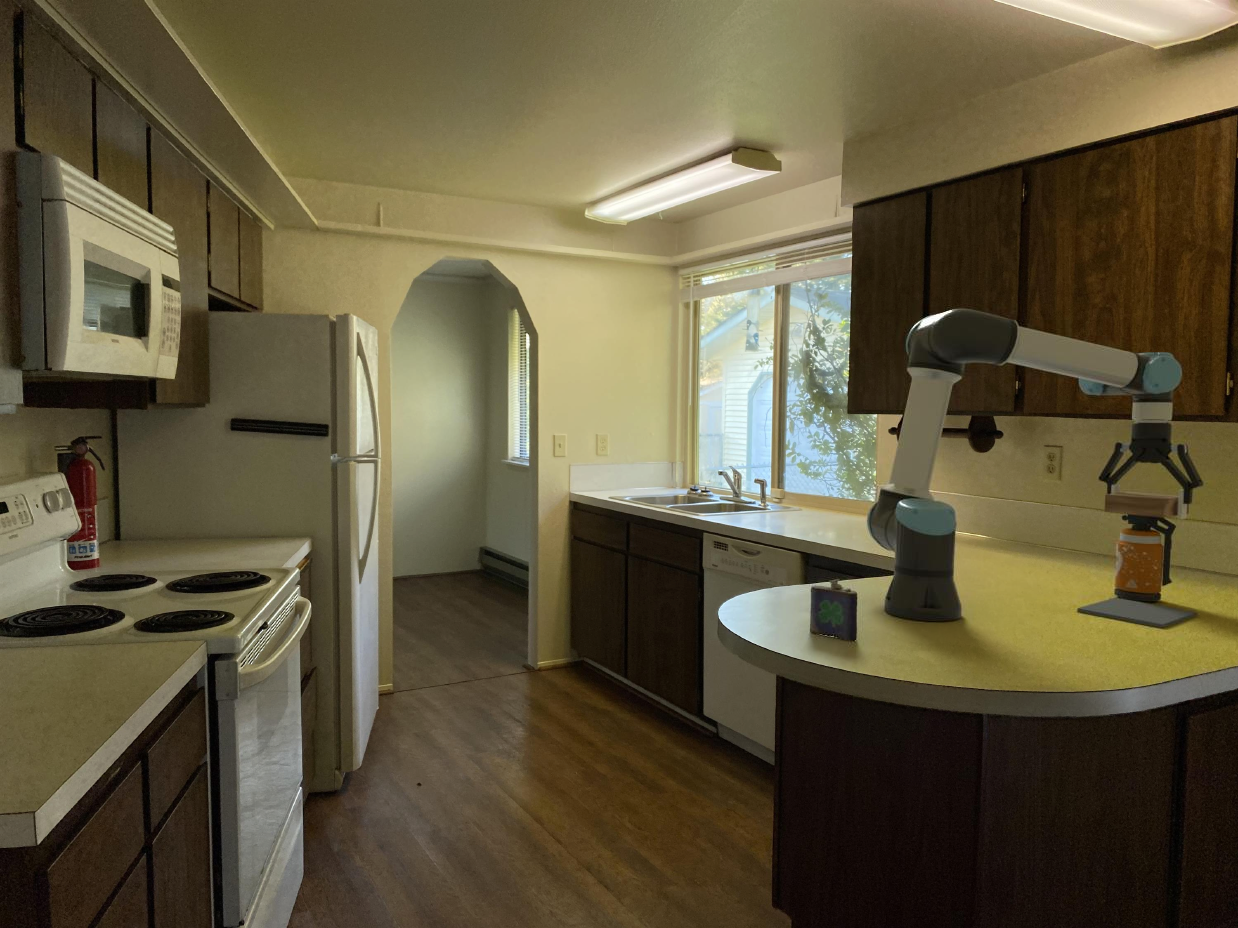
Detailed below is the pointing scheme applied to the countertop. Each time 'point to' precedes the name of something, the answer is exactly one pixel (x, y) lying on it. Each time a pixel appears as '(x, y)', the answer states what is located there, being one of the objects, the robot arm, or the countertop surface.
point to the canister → (1143, 558)
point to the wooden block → (1143, 504)
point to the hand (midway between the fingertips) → (1147, 515)
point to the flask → (834, 611)
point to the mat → (1138, 612)
